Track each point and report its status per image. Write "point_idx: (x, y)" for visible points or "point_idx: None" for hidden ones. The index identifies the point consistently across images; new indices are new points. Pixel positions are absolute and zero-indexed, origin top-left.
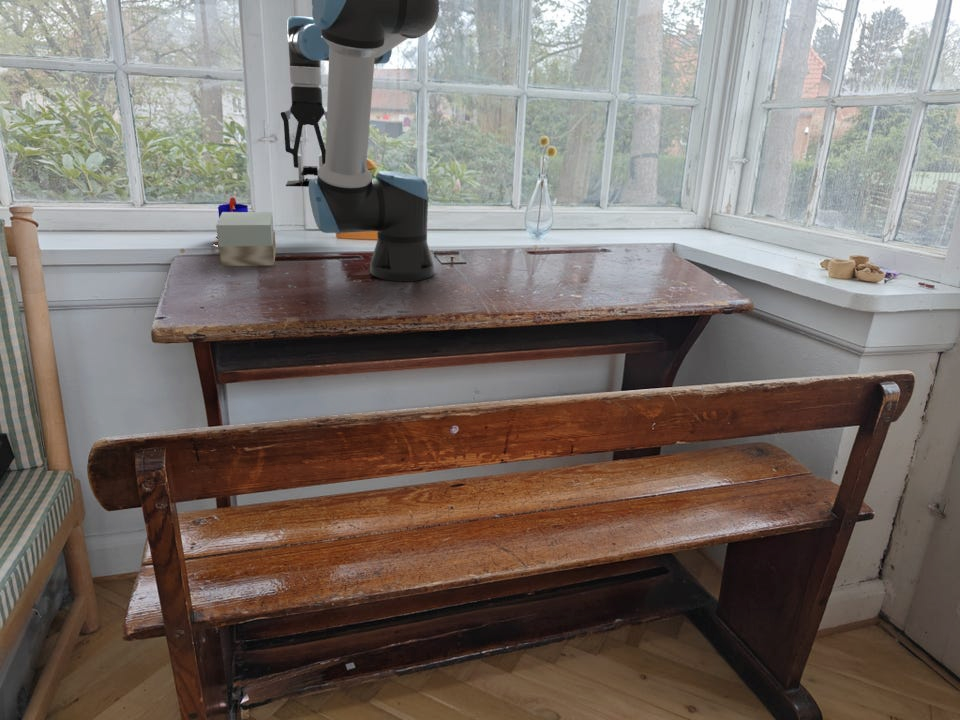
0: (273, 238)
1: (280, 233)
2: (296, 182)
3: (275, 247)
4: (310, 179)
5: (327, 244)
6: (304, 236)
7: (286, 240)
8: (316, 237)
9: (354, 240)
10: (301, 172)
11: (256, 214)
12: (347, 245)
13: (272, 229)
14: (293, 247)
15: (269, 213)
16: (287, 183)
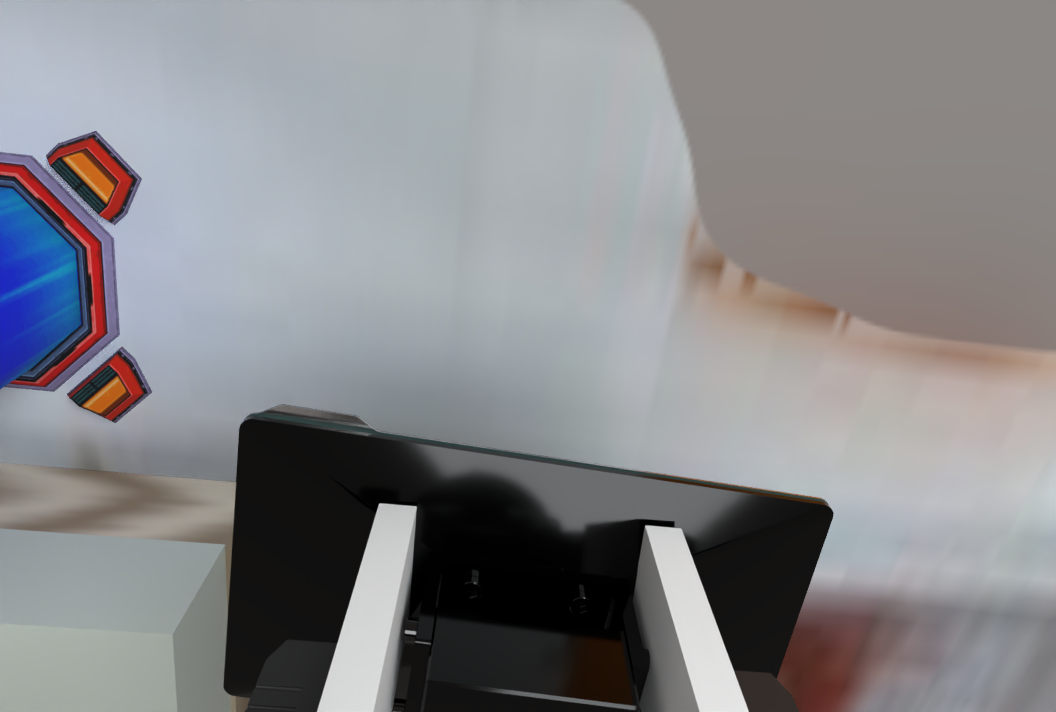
0: (234, 703)
1: (286, 37)
2: None
3: None
4: (516, 598)
5: (592, 410)
6: (466, 166)
7: (331, 272)
8: (550, 209)
9: (793, 330)
10: (393, 694)
11: (60, 699)
12: (712, 449)
13: (213, 707)
14: None
15: (155, 674)
16: (238, 613)
